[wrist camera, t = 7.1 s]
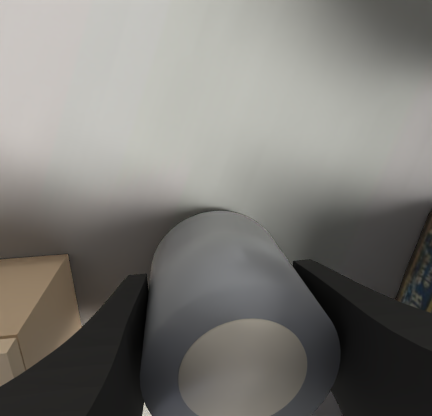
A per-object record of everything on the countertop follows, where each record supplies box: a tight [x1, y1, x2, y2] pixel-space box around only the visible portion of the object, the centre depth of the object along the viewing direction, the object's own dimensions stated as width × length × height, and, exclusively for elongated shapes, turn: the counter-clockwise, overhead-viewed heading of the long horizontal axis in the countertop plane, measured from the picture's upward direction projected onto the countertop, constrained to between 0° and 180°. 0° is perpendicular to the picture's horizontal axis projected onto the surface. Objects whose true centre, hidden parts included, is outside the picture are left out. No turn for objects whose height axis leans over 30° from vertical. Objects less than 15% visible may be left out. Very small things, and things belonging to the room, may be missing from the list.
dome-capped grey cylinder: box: [140, 211, 341, 416], centre depth 11 cm, size 5×5×5 cm
